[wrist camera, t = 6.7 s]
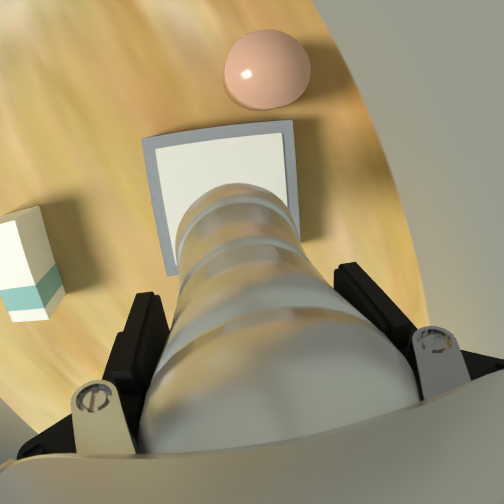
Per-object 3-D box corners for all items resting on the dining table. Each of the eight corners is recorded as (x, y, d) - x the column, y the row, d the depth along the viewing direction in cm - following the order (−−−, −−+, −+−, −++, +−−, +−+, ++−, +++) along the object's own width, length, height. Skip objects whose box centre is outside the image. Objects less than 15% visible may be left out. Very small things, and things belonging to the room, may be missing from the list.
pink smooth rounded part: (219, 50, 24) (222, 32, 18) (287, 46, 24) (306, 29, 19) (226, 114, 26) (230, 111, 21) (293, 108, 27) (314, 105, 21)
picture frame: (148, 137, 26) (141, 139, 23) (284, 120, 27) (292, 119, 24) (170, 262, 31) (167, 276, 28) (293, 245, 32) (301, 257, 29)
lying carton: (4, 214, 26) (-22, 230, 22) (40, 205, 27) (14, 220, 22) (31, 298, 30) (12, 322, 26) (66, 294, 31) (49, 319, 26)
